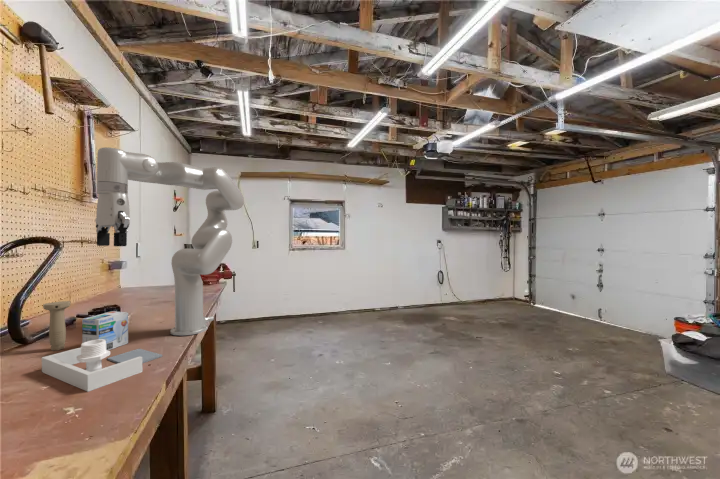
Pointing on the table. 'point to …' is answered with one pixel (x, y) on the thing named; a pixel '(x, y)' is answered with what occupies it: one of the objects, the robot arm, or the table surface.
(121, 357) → the mat
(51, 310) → the handle
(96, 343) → the pipe fitting
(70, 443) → the table surface
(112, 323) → the light bulb box
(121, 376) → the frame
